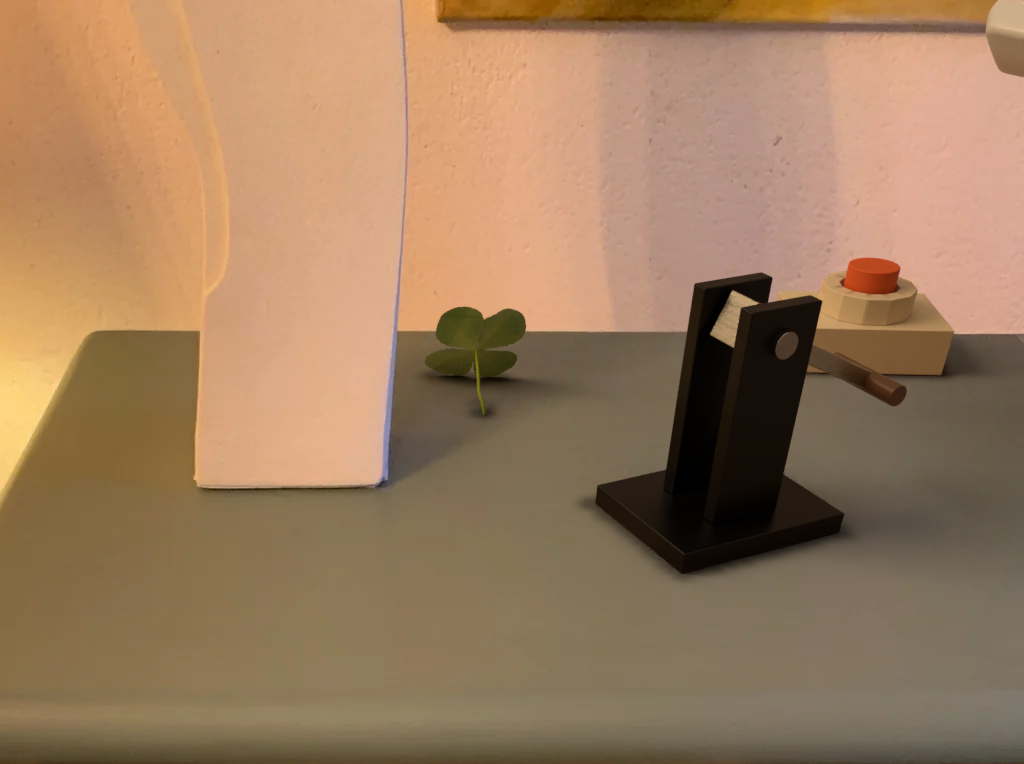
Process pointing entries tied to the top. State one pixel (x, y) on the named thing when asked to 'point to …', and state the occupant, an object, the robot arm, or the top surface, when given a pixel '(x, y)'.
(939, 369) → the button block
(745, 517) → the black lever stand
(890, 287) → the button
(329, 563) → the top surface
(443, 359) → the seedling
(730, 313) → the lever handle
